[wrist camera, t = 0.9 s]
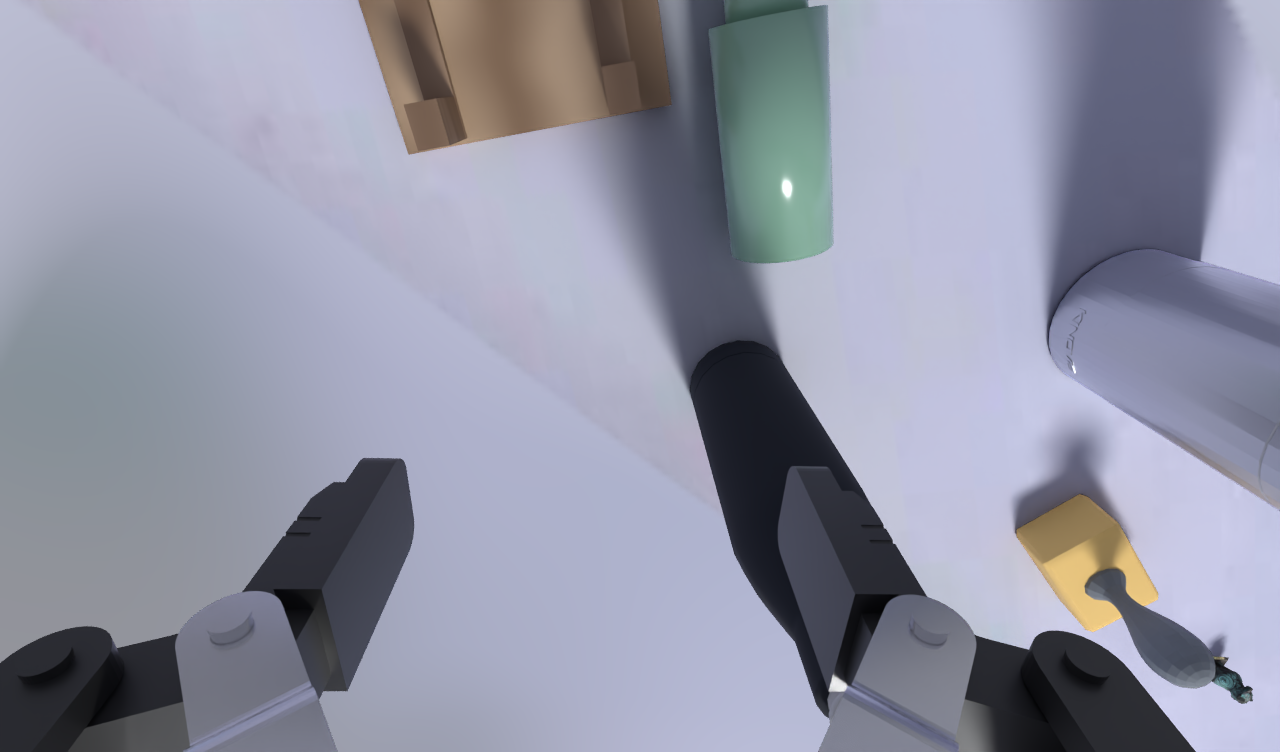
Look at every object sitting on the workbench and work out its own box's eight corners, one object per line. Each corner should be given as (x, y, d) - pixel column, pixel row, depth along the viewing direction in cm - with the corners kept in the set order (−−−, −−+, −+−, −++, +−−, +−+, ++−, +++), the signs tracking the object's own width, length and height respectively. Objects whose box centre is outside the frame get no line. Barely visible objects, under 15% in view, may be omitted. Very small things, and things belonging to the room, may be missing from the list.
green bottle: (819, 227, 35) (845, 252, 30) (726, 242, 36) (736, 269, 31) (807, -122, 28) (839, -163, 23) (690, -97, 28) (697, -131, 24)
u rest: (634, -160, 27) (640, -208, 23) (669, 104, 32) (680, 108, 27) (333, -99, 27) (280, -134, 23) (413, 152, 32) (383, 164, 28)
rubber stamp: (1012, 530, 47) (1133, 665, 36) (1082, 491, 45) (1231, 618, 35) (1059, 599, 50) (1182, 739, 40) (1125, 564, 49) (1272, 700, 38)
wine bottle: (705, 330, 38) (951, 944, 11) (799, 350, 39) (1239, 959, 12) (678, 417, 41) (824, 1079, 14) (767, 433, 41) (1067, 1082, 15)
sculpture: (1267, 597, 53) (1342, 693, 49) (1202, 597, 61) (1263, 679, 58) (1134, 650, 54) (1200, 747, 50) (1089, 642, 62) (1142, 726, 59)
